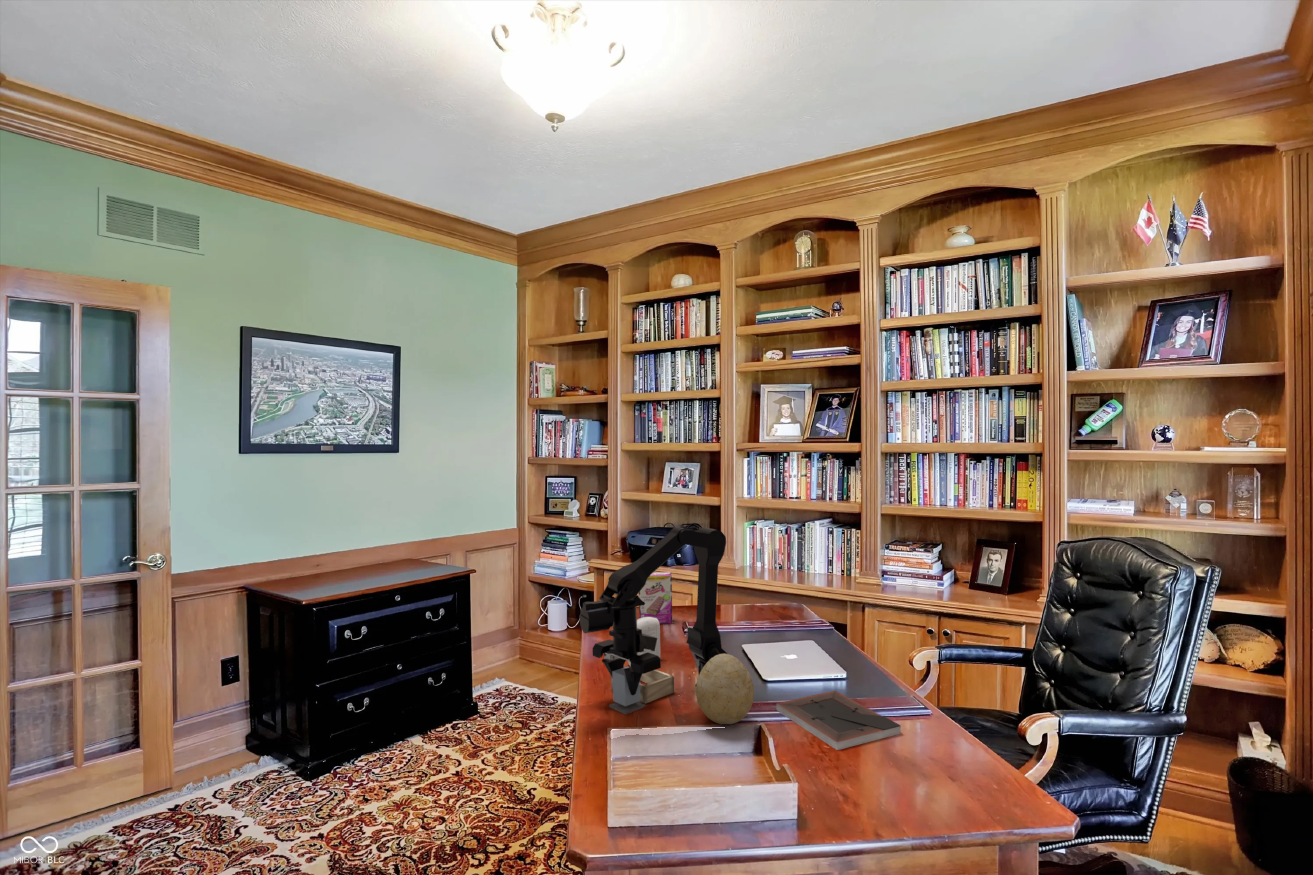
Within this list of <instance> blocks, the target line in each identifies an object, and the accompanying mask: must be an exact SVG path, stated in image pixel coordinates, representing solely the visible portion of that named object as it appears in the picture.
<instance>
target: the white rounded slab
mask: <svg viewBox="0 0 1313 875" xmlns="http://www.w3.org/2000/svg"><path fill="white" fill-rule="evenodd" d="M637 628H638V629H641V630H642V634H646V635H649V636H653V637H656V638H657V643H656V647H655V651H651V650H648V649H644V651H643V652H638V653H637V655H642V654H645V653H651V654H654V655H657V656H658V657H660V658H661V624H659V621H658V619H657V618H653V617H643V618H640V619H639V618H637ZM627 664H628V665H629V666H630V665H631V662H630V661H627Z"/></svg>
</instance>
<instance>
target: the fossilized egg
mask: <svg viewBox="0 0 1313 875" xmlns="http://www.w3.org/2000/svg"><path fill="white" fill-rule="evenodd" d="M696 684H697V685H696V686H695V696H696V700H697V703H698V706H699V708H700V709H701V711H702V713H703V714H704V715H705V716H706V717H707V718H708V719H709V720H710V721H712V722H714V723H716V724H719V725H722V724H730V725H733V724H736V723H738V722H740V721H741V720H743V719H744V718H745V717H746V716H747V715H748V714H749V712H750V711H751V708H752V706H753V703H754V699H755V686H754V683H753V679H752V676H751V674H750V672H749V671H748V669H747V667H746V666H745V665H744V664H743V663H742V662H741V661H740V659H739V658H737V657H735V655H732V654H729V653H727V654H719V655H716V656H714V657H713V658H711V659H710V660H709V661H708V662H707V663H706V664H705V666H704V667H703V669H702V670H701V672H700V674H699V673H698V677H697V681H696Z"/></svg>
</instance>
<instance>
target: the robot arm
mask: <svg viewBox="0 0 1313 875" xmlns="http://www.w3.org/2000/svg"><path fill="white" fill-rule="evenodd" d="M686 545H687V546H692V547H693V550H694V554H695V557H696V560H697V563H698V576H697V578H698V579H697V598H696V602H697V604H696V620H695V623H694V624H693V626H688V627H687V639H686V644H688V649H689V650H690V652H692V654H694V658H695V659H696V660H698V675H699V674H700V672H701V670H702V669H703V667H704V666H705V664H706V663H707V662H708V661H709V660H710V659H711V658H713V657H714V656H716V655H719V654H728V652H727V651H726V650H724V648H723V647H722V638H721V637H722V636H721V633H720V630H719V628H718V626H717V603H718V602H717V599H718V579H719V578H718V576H719V574H718V573H719V565H720V563H721V561H722V559H723V557H724V555H725V551H726V546H727V538H726V535H725V534H724V533H723V532H722V531H721V530H718V529H714V528H709V527H705V526H704V527H703V526H701V527H699V528H698V529H693V528H692V529H691V528H690V529H689V528H683V527H680V526H675V527H674V528H672V529H670V531H669V533H668V534H666V535H665V536H664V537H663V538H662V539H661V540H659V541H658V542H656V543H655V545H653V546H652V547H651V548H650V549H649V550H647V551H646V552H645V553H644V554H643V555H642V556H640V557H639V558H638V559H637V560H636V561H634V562H632V563H629V564H626V565H624V566H622V567H620V568H618V569H617V570H615V571H613V572H612V573H611V574H610V575H609V577H608V580H607V584H606V587H605V588H604V589H603V591H602V593H601V595H600V596H599V600H596V601H583V603H582V607H581V609H580V614H579V615H578V616H579V619H578V620H579V624H580V625H579V626H580V628H581V631H582V632H583V633H584V634H589V633H596V632H601V631H606V630H609V631H608V635H609V636H611V637H612V639H606V640H603V641H600V642H596V643H594V644H593V647H592V657H595V658H598V659H601V658H602V657H603V659H601V663H603V664H604V666H605V667H606V669H607V671H608V673H609V675H610V677H611V676H612V671H615V670H618V669H621V668H624V667H625V666H624V665H625V663H626V661H627V662H628V661H630V662H631V665H629V666H628V667H629V668H626V669H624V671H625V675H626V679H627V683H628V687H629V690H630V693H631V695H635V694H636V691H637V688H638V685H639V682H640V683H641V681H640V679H641V676H642V674H645V673H648V672H650V671H653V670H658V669H661V668H662V659H661V656H660V657H658V656H657V655H654V654H651V653H645V654H642V655H637V653H638V652H643V651H644V649H648V650H651V651H655V647H656V643H657V638H656V637H653V636H649V635H646V634H642V630H641V629H638V628H637V619H638V615H637V613H638V612H637V607H639V606H642V605H645V602H643V601H642V600H641V599H640V598H639V592H640V591H641V589H642V588H643V587H644V586H645V583H646V581H647V579H648V577H649V576H650V575H651V574H652V573H655V571H657V570H658V569H659V568H660V567H661V566H662V565H664V563H666V562H667V561H668V560H669V559H670V558H672V556H674V555H675V554H676V553H678V552H679V550H681V549H682V548H683V547H684V546H686ZM614 596H616V597H614ZM610 628H612V629H610ZM612 679H613V676H612ZM696 685H697V683H695V687H696Z"/></svg>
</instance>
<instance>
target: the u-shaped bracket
mask: <svg viewBox="0 0 1313 875" xmlns="http://www.w3.org/2000/svg"><path fill="white" fill-rule="evenodd" d="M641 682H642V683H643V684H642V683H641ZM644 683H645V684H644ZM610 686H611V687H610V688H611V691H613V679H612V676H611V675H610ZM674 693H675V676H674V675H672V674H669V673H666V672H663V671H660V670H658V669H656V670H653V671H650V672H648V673H645V674H642V676H641V679H640V701H639V702H640V703H642V704H644V705H646V704H648V703H651V702H653V701H656V700H658V699H661V698H663V697H665V696H668V695H672V694H674Z"/></svg>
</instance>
